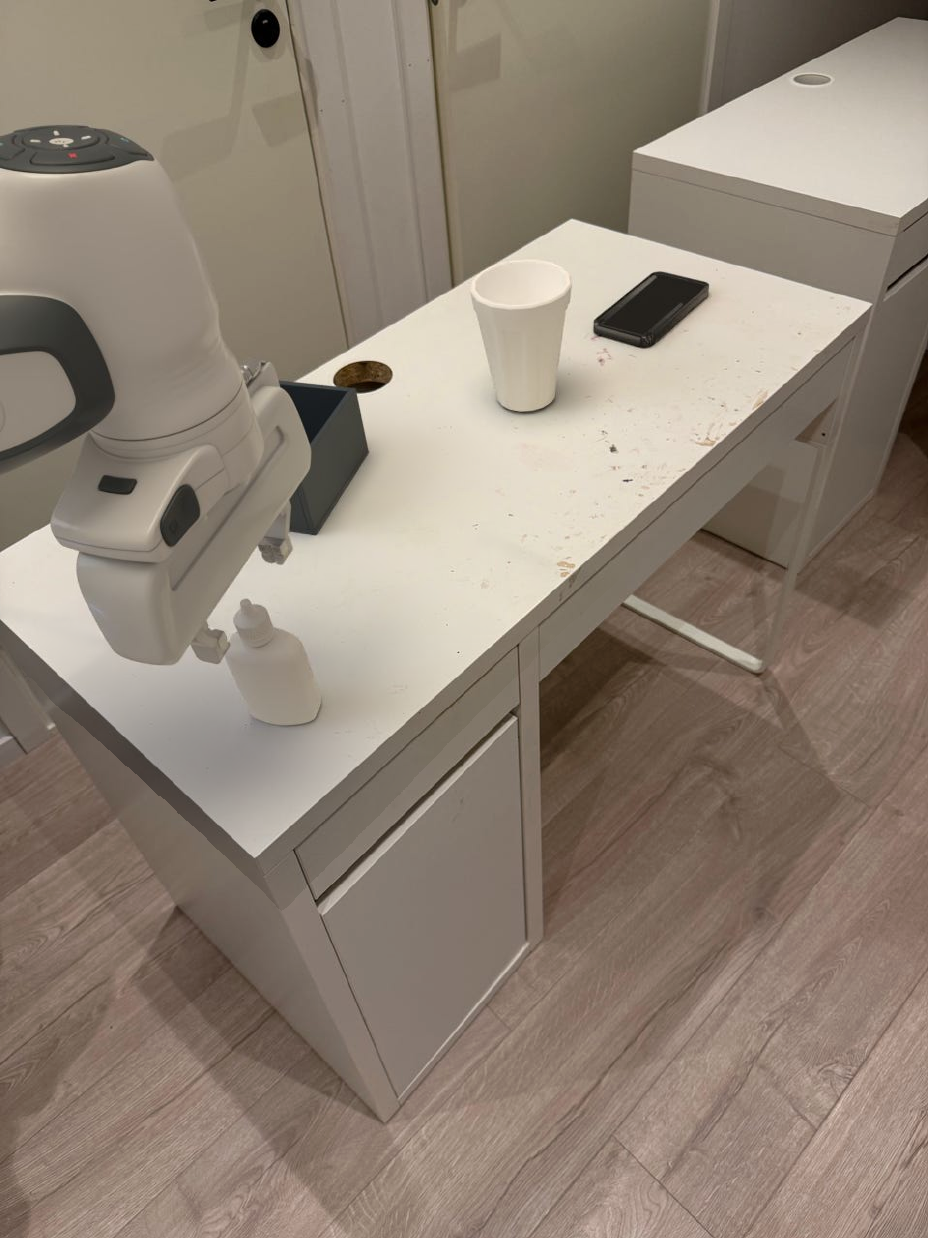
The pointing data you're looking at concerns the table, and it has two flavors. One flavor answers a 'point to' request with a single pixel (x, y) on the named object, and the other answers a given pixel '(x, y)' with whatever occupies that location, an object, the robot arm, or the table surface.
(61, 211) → the robot arm
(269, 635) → the eye dropper bottle
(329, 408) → the bin
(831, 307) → the table surface
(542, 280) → the cup
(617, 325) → the phone
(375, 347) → the table surface
